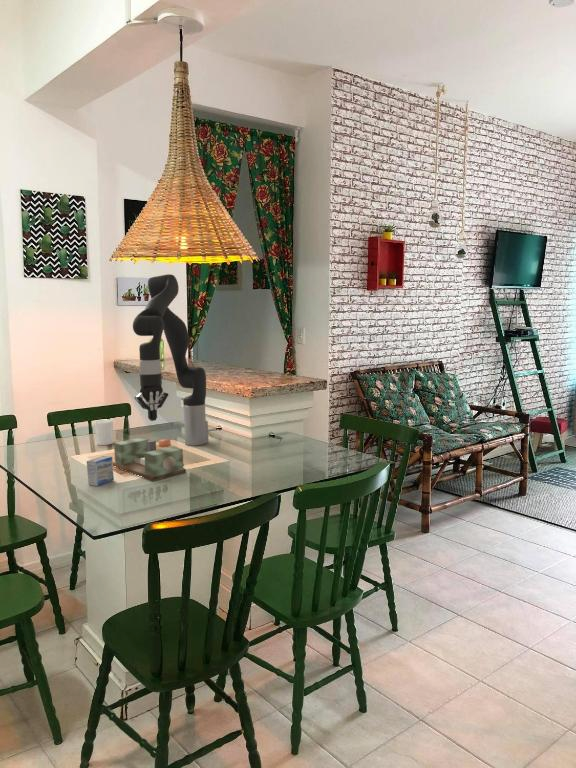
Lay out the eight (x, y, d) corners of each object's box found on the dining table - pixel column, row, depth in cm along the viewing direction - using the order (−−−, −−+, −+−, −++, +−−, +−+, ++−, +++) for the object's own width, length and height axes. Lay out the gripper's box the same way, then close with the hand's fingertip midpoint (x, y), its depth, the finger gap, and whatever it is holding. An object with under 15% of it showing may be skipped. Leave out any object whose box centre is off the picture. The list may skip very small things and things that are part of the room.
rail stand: (145, 459, 250) (144, 436, 249) (186, 473, 230) (185, 448, 229) (112, 466, 241) (111, 443, 240) (152, 481, 220) (151, 456, 219)
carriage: (159, 463, 237) (158, 438, 236) (168, 466, 233) (167, 441, 231) (140, 467, 232) (139, 442, 230) (149, 470, 227) (148, 445, 226)
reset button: (166, 444, 228) (166, 438, 228) (172, 445, 225) (172, 440, 225) (156, 446, 225) (156, 440, 225) (163, 447, 222) (162, 442, 222)
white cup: (106, 440, 284) (105, 418, 282) (118, 442, 279) (116, 420, 278) (92, 444, 278) (90, 421, 276) (103, 446, 273) (102, 423, 271)
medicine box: (97, 486, 216) (95, 461, 215) (87, 485, 218) (86, 460, 217) (114, 480, 223) (112, 456, 222) (104, 478, 225) (103, 455, 224)
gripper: (161, 369, 233) (163, 416, 235) (128, 373, 224) (130, 421, 226) (172, 371, 227) (174, 419, 230) (139, 374, 219) (141, 424, 221)
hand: (152, 420), depth 228 cm, fingers closed
